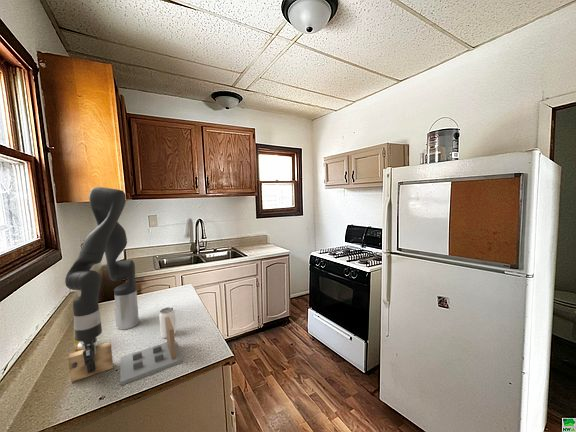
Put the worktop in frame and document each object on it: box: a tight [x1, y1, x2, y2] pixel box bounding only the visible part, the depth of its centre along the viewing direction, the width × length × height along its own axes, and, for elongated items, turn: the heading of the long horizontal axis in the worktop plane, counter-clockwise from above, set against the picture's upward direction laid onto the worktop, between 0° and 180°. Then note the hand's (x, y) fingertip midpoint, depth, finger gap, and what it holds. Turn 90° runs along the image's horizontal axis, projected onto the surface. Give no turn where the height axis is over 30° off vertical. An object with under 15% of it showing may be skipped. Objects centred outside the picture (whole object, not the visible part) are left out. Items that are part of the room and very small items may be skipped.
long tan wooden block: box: [67, 341, 114, 383], centre depth 90 cm, size 12×4×9 cm, turn 124°
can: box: [158, 306, 177, 339], centre depth 114 cm, size 6×6×12 cm
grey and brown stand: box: [119, 317, 183, 386], centre depth 95 cm, size 20×16×13 cm
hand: (92, 367), depth 91 cm, fingers open, 4 cm apart
